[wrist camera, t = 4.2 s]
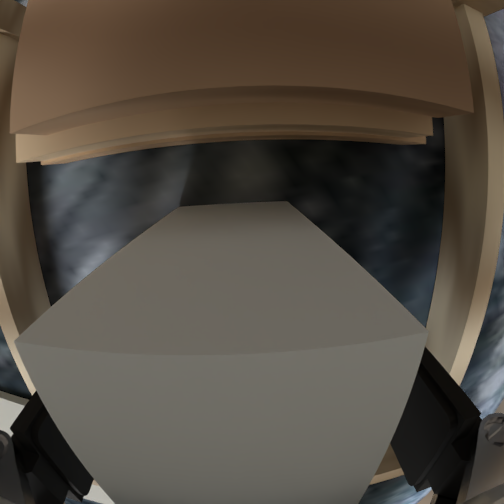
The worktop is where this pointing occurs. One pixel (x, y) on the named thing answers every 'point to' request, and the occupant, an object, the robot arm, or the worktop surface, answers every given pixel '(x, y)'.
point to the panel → (227, 363)
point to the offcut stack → (231, 73)
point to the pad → (3, 415)
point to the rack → (454, 217)
